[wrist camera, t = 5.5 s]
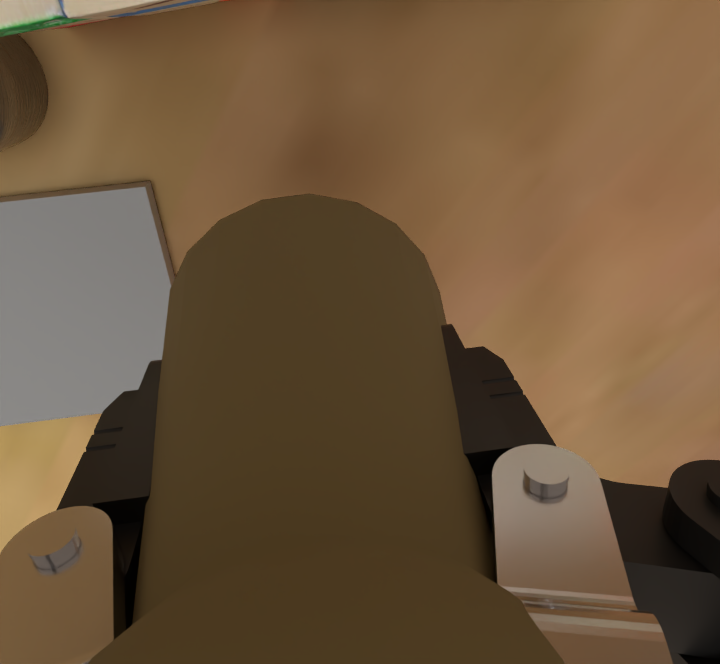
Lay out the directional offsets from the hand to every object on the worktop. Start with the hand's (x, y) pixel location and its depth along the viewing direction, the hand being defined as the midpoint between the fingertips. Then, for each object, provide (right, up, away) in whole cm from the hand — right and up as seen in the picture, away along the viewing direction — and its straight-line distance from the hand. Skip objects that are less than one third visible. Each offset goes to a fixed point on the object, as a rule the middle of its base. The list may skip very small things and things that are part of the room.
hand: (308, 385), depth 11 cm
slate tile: (-13, +2, +17) cm, 21 cm away
